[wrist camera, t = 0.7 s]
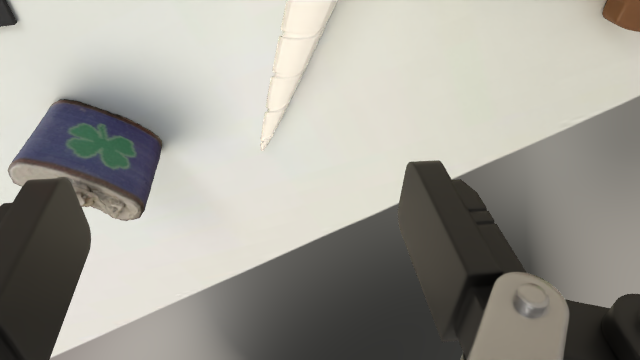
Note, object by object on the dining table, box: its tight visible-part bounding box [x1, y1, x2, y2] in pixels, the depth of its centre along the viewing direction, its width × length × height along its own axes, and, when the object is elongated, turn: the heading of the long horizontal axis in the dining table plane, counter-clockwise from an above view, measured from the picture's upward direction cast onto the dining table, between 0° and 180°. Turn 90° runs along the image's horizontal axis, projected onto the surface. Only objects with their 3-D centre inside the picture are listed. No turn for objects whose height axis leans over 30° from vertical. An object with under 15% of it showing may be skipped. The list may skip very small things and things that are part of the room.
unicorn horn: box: [261, 0, 338, 151], centre depth 33 cm, size 5×24×5 cm, turn 157°
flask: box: [8, 99, 162, 221], centre depth 34 cm, size 9×3×11 cm, turn 56°
